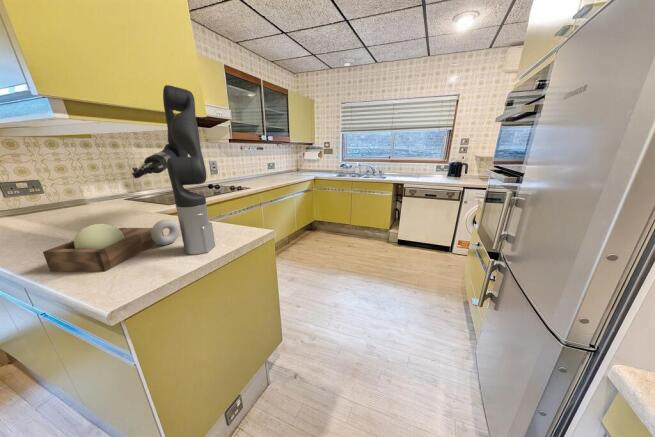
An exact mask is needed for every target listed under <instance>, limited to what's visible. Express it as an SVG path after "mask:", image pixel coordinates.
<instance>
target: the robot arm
mask: <svg viewBox="0 0 655 437" xmlns="http://www.w3.org/2000/svg"><path fill="white" fill-rule="evenodd" d="M162 100H163V108H164V115H165V120H166V121H165V122H166V127H167V144H165V146H164V148H163V149H162V150H161V151H160V152H156V153H154V154H151V155H150V156H148V157H146V158H145V159H144V161H143V163H142V164H141V165H140V166H138V168H137V167H132V169H131V170H132V171H133V172H132V174H131V175H132V176H133V178H134V179H139V178H141V177H143V176H146V175H149V174H150V175H151V174H161V173H162V172H164V171H166V170H167V174H168V177H169V180H170V185H171V188H172V194H173V198H174V203H175V208H176V213H177V219H178V223H179V230H180V234H181V240H182V244H183V248H184V249H183V250H184V254H187V255H200V254H207V253H209V252H210V251H212V250H213V249H214V248H215V247H216V239H215V235H214V230H213V227H214V226H213V222H210V219H209V212H208V205H207V200H206V197H205V195H204V194H202V193H198V192H193V191H191V190H188V189H187V188H185V187H184V186H191V185H193V186H194V185H202V184H204V183H206V180H207V169H206V164H205V160H204V157H203V153H202V147H201V141H200V140H201V138H200V132H199V126H198V122H197V118H196V117H197V115H196V104H195V103H196V102H195V101H196V100H195V96H194V94H193V93H192V91H190V90H188V89H186V88H181V87H177V86H173V85H170V84H166V85H165V86H163V90H162ZM174 111H175V112H179V113H177V114H176V115H175V113H174Z"/></svg>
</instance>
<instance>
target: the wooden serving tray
mask: <svg viewBox="0 0 655 437" xmlns="http://www.w3.org/2000/svg"><path fill="white" fill-rule="evenodd" d="M152 228H153V227H119V228H118V229H119V230H120V231H121V232H122V233H123V235H124V239H123V240H121V241H118V242H116V243H114V244H111V245H109V246H107V247H104V248H102V249H75V247H74V240H72V241H69V242H66V243H63V244H60V245H58V246H55V247H52V248H50V249H47V250H43V251H42V254H43V256H44V259H45V261H46V264H47V267H48V269H49V272H107V271H109V270H111V269H112V268H114V267H117V266H118V265H120V264H122V263H124V262H126V261H127V260H129V259H131V258H133V257H135V256H136V255H138V254H140V253H142V252H144V251H146V250H148V249H149V248H151V247H153V246H155V245H157V243H155V242H154V241H153V239H152V237H151V230H152ZM162 235H163V236H165V235H164V230H163V231H162Z"/></svg>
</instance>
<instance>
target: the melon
mask: <svg viewBox="0 0 655 437" xmlns="http://www.w3.org/2000/svg"><path fill="white" fill-rule="evenodd" d="M123 239H124V235H123V233H122V232H121V231H120V230H119V228H118V227H116V226H114V225H111V224H107V223H96V224H94V223H93V224H91V225H87V226H86V227H84V228H81V230H79V232H78V233H77V234H76V235H75V237H74V240H73V241H74V247H75V249H102V248H104V247H107V246H109V245H111V244H114V243H116V242H118V241H121V240H123Z"/></svg>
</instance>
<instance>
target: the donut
mask: <svg viewBox="0 0 655 437" xmlns="http://www.w3.org/2000/svg"><path fill="white" fill-rule="evenodd" d="M151 228H152V230H151V237H152V239H153V241H154V242H155V243H157V244H158V245H160V246H162V245H163V246H166V245H170V244H172V243H174V242H175V241H177V239H178V237H179V235H180V234H181V230H180V225H178V223H177V222H176V221H174V220H172V219H161V220H159V221H157V222H156V223H155V224H154V225H153V226H152V227H151ZM165 229H168V230H169V233H168V234H167V235H164V236H163V235H162V231H163V232H164V230H165ZM157 244H156V245H157Z"/></svg>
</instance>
